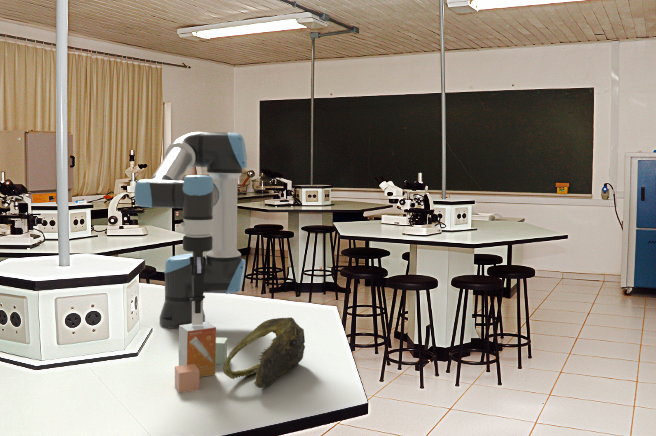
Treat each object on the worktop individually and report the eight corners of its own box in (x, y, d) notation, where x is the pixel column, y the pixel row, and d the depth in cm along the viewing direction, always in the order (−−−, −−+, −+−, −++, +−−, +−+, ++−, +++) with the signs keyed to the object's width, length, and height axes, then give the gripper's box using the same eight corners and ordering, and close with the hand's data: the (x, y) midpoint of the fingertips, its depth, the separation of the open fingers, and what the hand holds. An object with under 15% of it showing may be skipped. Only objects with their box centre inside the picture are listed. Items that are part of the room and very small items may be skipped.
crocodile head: (260, 336, 177) (293, 305, 172) (293, 384, 172) (328, 352, 167) (200, 353, 153) (237, 316, 148) (236, 409, 148) (275, 373, 143)
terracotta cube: (174, 385, 152) (174, 366, 152) (194, 382, 154) (194, 363, 154) (178, 392, 148) (178, 373, 147) (199, 390, 150) (199, 370, 149)
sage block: (209, 357, 173) (209, 337, 172) (227, 358, 173) (227, 337, 173) (206, 363, 168) (206, 342, 168) (224, 364, 168) (224, 343, 168)
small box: (186, 380, 156) (186, 331, 154) (178, 372, 161) (178, 324, 159) (216, 374, 160) (216, 326, 159) (206, 367, 165) (207, 320, 164)
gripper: (182, 231, 162) (181, 318, 164) (183, 238, 149) (183, 332, 152) (210, 231, 164) (209, 316, 166) (214, 238, 151) (213, 330, 154)
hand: (197, 324), depth 159 cm, fingers closed
